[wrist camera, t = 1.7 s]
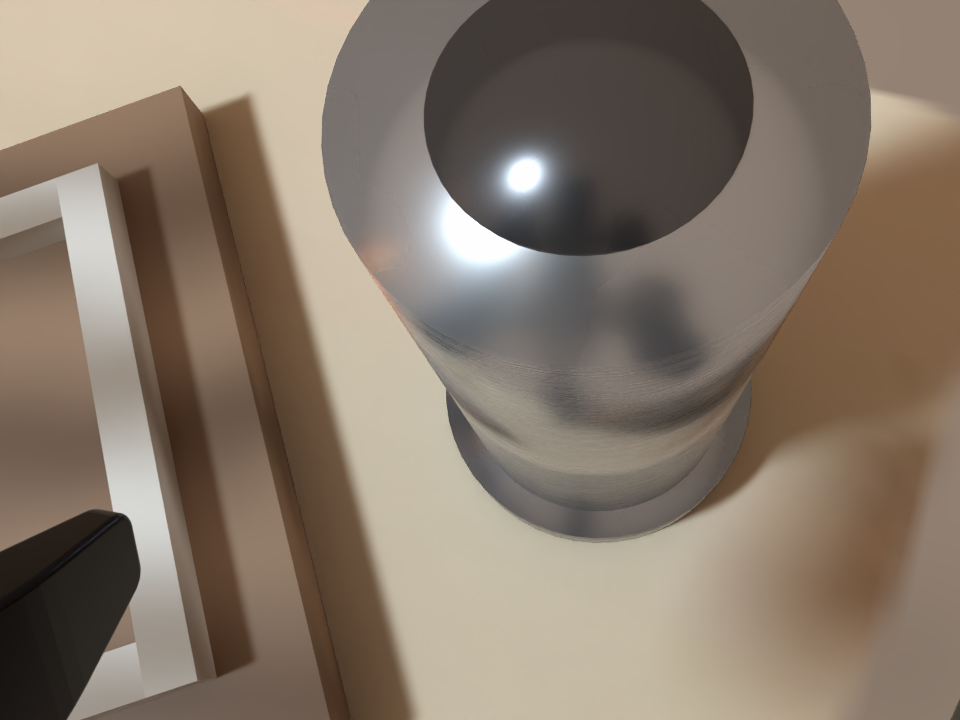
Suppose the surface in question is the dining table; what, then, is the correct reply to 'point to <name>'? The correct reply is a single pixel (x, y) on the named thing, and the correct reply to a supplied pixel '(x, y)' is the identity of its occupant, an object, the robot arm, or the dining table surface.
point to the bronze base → (155, 419)
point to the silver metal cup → (595, 225)
